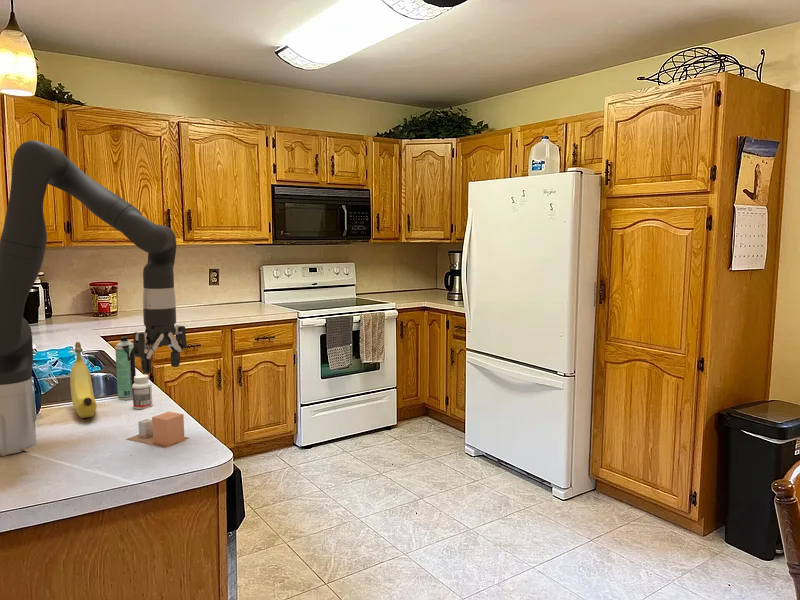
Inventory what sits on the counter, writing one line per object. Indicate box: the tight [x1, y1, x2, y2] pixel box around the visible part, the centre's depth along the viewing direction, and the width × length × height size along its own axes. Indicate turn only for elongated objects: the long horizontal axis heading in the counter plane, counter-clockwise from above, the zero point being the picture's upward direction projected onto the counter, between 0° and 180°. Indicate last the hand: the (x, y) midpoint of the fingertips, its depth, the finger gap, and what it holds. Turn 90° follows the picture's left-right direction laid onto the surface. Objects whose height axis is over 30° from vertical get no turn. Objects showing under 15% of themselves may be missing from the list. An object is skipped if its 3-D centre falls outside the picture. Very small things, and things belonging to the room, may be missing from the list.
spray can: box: [114, 336, 137, 401], centre depth 187 cm, size 6×6×20 cm
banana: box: [69, 341, 97, 419], centre depth 170 cm, size 23×6×20 cm, turn 34°
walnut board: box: [125, 433, 190, 449], centre depth 149 cm, size 8×14×1 cm, turn 64°
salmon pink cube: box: [151, 411, 185, 447], centre depth 146 cm, size 5×5×7 cm
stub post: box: [137, 418, 153, 438], centre depth 150 cm, size 3×3×4 cm
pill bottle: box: [132, 374, 153, 410], centre depth 177 cm, size 5×5×10 cm
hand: (161, 369), depth 146 cm, fingers open, 8 cm apart
